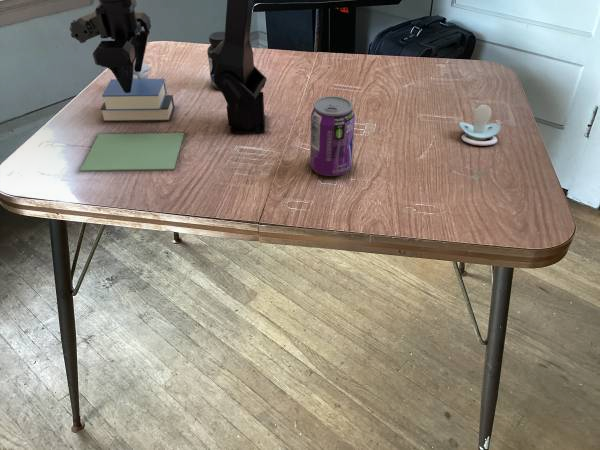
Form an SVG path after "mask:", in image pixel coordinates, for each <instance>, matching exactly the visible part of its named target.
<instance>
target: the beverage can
mask: <svg viewBox="0 0 600 450" xmlns="http://www.w3.org/2000/svg"><path fill="white" fill-rule="evenodd" d="M353 108H354V104H353V102H352V101H351V100H350V99H348V98H346V97H343V96H340V95H327V96H322V97H319V98H318V99H316V100H315V101H314V103H313V109H312V110H311V113H310V151H309V152H310V158H309V159H310V160H309V161H310V162H309V165H310V168H311V169H312V171H314V172H315V173H317V174H318V175H323V176H327V177H328V176H329V177H337V176H341V175H344V174H347V173H348V172H349V171H350V170H351V168H352V165H353V151H354V136H355V124H356V123H355V122H356V113H355V111H354V109H353Z"/></svg>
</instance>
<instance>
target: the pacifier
mask: <svg viewBox="0 0 600 450" xmlns="http://www.w3.org/2000/svg"><path fill="white" fill-rule="evenodd" d="M491 109H492V108H491V107H489V105H487V104H480V105H478V106H477V107H476V109H475V110H474V112H473V117H474V119H475V120H474V123H473V125H472V124H470V123H467V122H465V121H460V122H459V127H460V129H461V131H463V132H464V134H462V135H461V140H462V141H463V142H465V143H467V144H470V145H474V146H492V145H494V144H497V143H498V138H497V137H496V135H497V134H498V133H500V130H501V125H500V124H499V123H488V121H489V120H490V119H491V117H492V110H491ZM488 139H490V140H488Z"/></svg>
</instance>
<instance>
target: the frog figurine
mask: <svg viewBox="0 0 600 450" xmlns="http://www.w3.org/2000/svg"><path fill="white" fill-rule="evenodd" d="M150 70H151V67H150V66H149V64H147V63H146V62H144V61H143V64H142V69H141V72H136V71H135V70H134V75H133V79H150V78H149V71H150Z"/></svg>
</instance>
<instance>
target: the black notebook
mask: <svg viewBox="0 0 600 450" xmlns="http://www.w3.org/2000/svg"><path fill="white" fill-rule="evenodd" d="M99 110H100V111H101V113H102V116H103V120H102V121H103V123H126V122H127V123H128V122H129V123H132V122H137V123H138V122H171V120H172V117H173V114H174V110H175V102H174V96H173V94H172V95H171V94H166V97H165V100H164V102H163V105H162V108H161V110H118V111H106V105H105V101H104V102H103V103H102V105H101V107H100V108H99Z"/></svg>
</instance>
